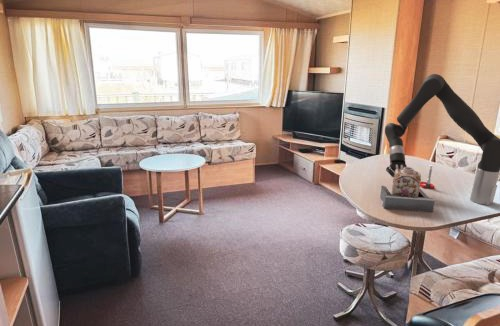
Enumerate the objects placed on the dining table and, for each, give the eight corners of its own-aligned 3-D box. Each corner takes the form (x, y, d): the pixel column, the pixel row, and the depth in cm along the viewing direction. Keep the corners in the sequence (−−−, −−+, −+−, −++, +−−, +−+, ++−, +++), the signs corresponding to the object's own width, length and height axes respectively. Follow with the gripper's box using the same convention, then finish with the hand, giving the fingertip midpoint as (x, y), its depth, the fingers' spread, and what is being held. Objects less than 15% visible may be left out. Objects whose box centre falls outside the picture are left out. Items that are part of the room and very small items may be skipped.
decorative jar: (415, 199, 171) (421, 166, 166) (416, 208, 161) (422, 173, 155) (390, 195, 175) (395, 163, 170) (389, 204, 165) (395, 169, 160)
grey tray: (377, 196, 174) (378, 184, 172) (421, 199, 171) (423, 187, 169) (384, 208, 160) (385, 196, 158) (432, 212, 157) (435, 199, 155)
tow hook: (414, 182, 197) (420, 187, 188) (418, 161, 194) (423, 165, 185) (429, 184, 196) (436, 189, 187) (433, 162, 193) (440, 166, 184)
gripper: (407, 159, 183) (410, 188, 175) (382, 158, 185) (384, 186, 177) (412, 152, 176) (415, 182, 168) (386, 151, 178) (388, 180, 170)
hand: (399, 184), depth 173 cm, fingers closed
